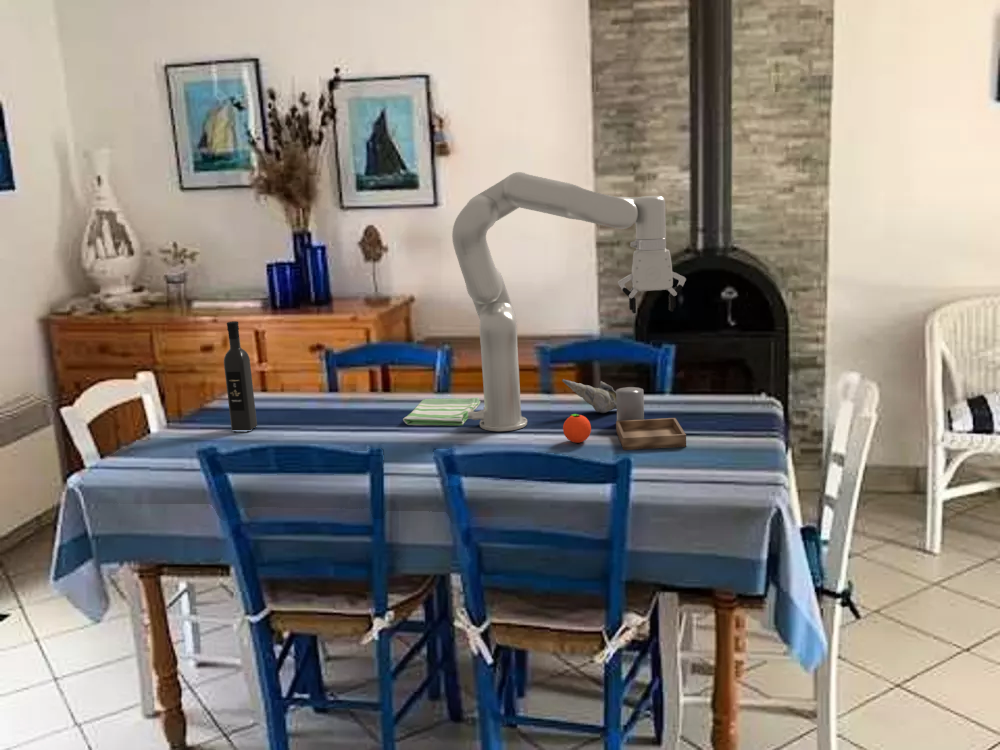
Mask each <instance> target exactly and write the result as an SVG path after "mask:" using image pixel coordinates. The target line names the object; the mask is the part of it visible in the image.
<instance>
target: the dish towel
mask: <svg viewBox="0 0 1000 750" xmlns="http://www.w3.org/2000/svg"><path fill="white" fill-rule="evenodd" d="M480 404H481V400H480V397H471V398H426V399H425V398H424V399H422V400H421V401H420V402H418V405H416V407H415V408H414V409H413V410H412V411H410V413H408V414H407V416H405V417H404V418H402V420H403V422H404V423H405V424H406V425H408V426H464V424H465V423H466V421H467V420H469V419H468V412H472V411H475V410H476V409H477V408H478V407H479V405H480Z"/></svg>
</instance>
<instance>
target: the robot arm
mask: <svg viewBox="0 0 1000 750" xmlns="http://www.w3.org/2000/svg"><path fill="white" fill-rule="evenodd" d="M519 208H520V209H525V210H530V211H536V212H540V213H544V214H549V215H551V216H552V215H553V216H557V217H561V218H564V219H565V218H566V219H571V220H578V221H583V222H586V223H591V224H594V225H600V226H604V227H609V228H613V229H618V230H624V229H629V228H630V227H632V226H633V225H634V224H635V240H634V241H630V248H635V249H636V250H634V251H633V254H632V255H633V256H632V264H631V273H630V274H628V275H627V276H625V277H622V278H621V279H620V280H618V281H617V284H618V285H619V287H620V290H621V291H622V292H623V294H625V295H626V296H627V297H628V300H629V303H628V308H629V311H631V313H632V314H633V315H634V314H636V313H637V300H636V297H635V296H636V295H637V293H638V292H649V291H665V290H666V291H668V292H669V295H668V310H669V311H670V312H671V313H672V312H674V309H675V308H676V301H677V299H676V296H677V295H678V293H680V291H682V289H683V287H684V285H685V282H686V281H687V278H686V277H685V276H683V275H680V274H679V273H677V272H674V271H673V264H672V256H671V252H670V251H671V250H670V249H667V227H666V221H667V220H666V199H665V197H663V196H661V195H646V196H644V195H643V196H640V197H630V196H629V197H628V196H614V195H609V194H605V193H600V192H596V191H592V190H588V189H586V188H583V187H580V186H578V185H576V184H573V183H570V182H565V181H560V180H554V179H551V178H546V177H543V176H538V175H537V176H536V175H533V174H529V173H526V172H523V171H522V172H521V171H517V172H513V173H511V174H510V175H507V176H506V177H505V178H503V179H501V180H500V181H498V182H497V183H495V184H494V185H492V186H489V187H488V188H487V189H484V191H481V192H480V193H478V194H476V195H475V196H473V197H472V198H470V199H469V200H468V201H467V203H466V204H465V206H464V207H463V208H462V209H461V211H460V212H459V213H458V215H457V217H456V218H455V220H454V223H453V227H452V233H451V234H452V235H451V236H452V244H453V249H454V251H455V252H454V253H455V256H456V258H457V261H458V265H459V268H460V272H461V274H462V277H463V279H464V283H465V288H466V291H467V294H468V296H469V298H470V299H471V300H472V302H473V305H474V307H475V311H476V312H477V313H476V314H477V316H478V318H479V319H478V320H479V327H478V328H479V341H480V343H479V344H480V352H481V353H480V355H481V369H482V370H481V371H482V384H483V402H484V404H483V405H484V407H483V409H480V410H479V411H475V410H474V411H472V412H468V419H467V420H472V421H477V420H478V421H479V420H480V421H479V427H480V428H481V429H483V430H485V431H491V432H509V431H510V432H511V431H516V430H519V429H523V428H524V427H526V426H527V425H528V419H527V418H526V417H525V416H522V407H521V389H520V388H521V387H520V366H519V351H518V350H519V349H518V346H519V345H518V324H517V317H516V313H515V310H514V307H513V304H512V301H511V299H510V296H509V293H508V290H507V286H506V283H505V281H504V279H503V275H502V273H501V272H500V271H499V269H498V268H497V267H496V266H495V262H494V260H493V257H492V255H491V250H490V247H489V245H488V242H487V241H488V240H487V232H488V230H490V228H492V227H493V226H494V225H495V224H496V223H497V222H498V221H499V220H501V219H503V218H504V217H507V216H508V215H509V214H511V213H513V212H514V211H516V210H518V209H519ZM674 279H675V280H678V283H677V285H676V286H675V287H673V285H674ZM630 281H631V287H632V288H630V290H629V289H628V288H627V287H626V284H627V283H628V282H630Z"/></svg>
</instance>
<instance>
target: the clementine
mask: <svg viewBox="0 0 1000 750" xmlns="http://www.w3.org/2000/svg"><path fill="white" fill-rule="evenodd" d="M562 426H563V427H562V430H563V434H564V436H565V438H566V439H567V440H568V441H570V442H571V443H574V444H576V443H577V444H579V443H583V442H585V441H586V440H587V439H588V438H589V437H590V435H591V432H592V426H591V422H590V420H589V419H588V418H587V417H586V416H584V415H582V414H577V413H573V414H570V415H569V417H567V418H566V420H565V421H564V423H563V425H562Z"/></svg>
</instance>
